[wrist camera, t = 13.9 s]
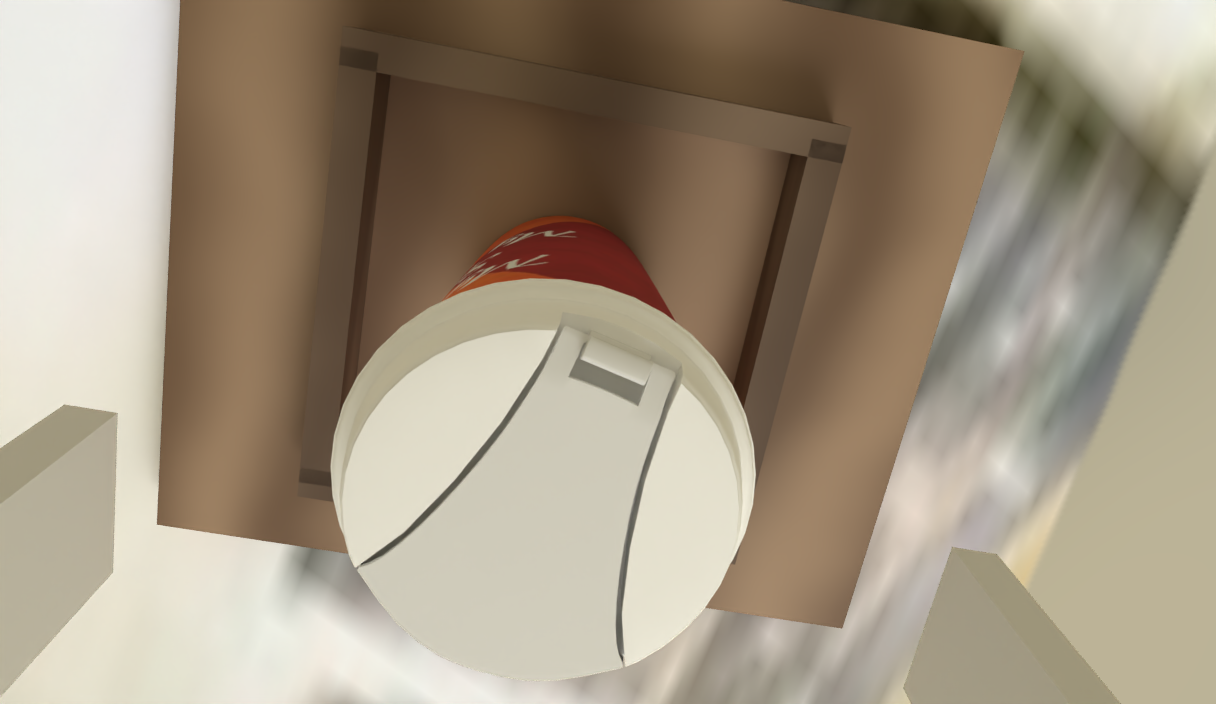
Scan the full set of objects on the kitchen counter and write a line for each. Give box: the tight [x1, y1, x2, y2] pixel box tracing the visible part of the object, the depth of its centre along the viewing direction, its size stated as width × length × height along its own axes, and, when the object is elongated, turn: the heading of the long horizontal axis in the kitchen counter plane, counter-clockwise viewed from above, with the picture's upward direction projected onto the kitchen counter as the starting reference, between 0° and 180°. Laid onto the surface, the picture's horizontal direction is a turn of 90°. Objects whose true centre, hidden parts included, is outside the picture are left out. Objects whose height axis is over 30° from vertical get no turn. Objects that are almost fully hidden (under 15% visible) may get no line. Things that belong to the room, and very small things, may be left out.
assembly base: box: [157, 0, 1024, 628], centre depth 28 cm, size 24×20×4 cm
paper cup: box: [331, 216, 756, 681], centre depth 22 cm, size 8×8×14 cm
